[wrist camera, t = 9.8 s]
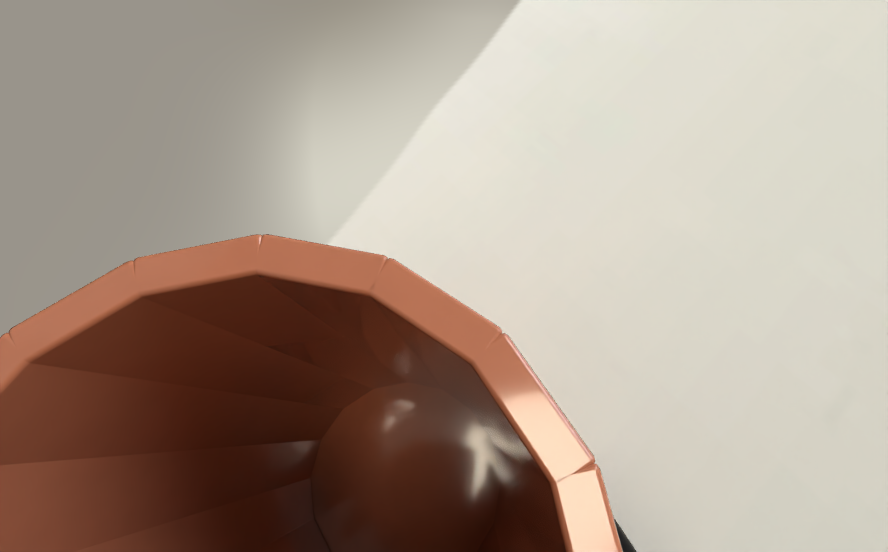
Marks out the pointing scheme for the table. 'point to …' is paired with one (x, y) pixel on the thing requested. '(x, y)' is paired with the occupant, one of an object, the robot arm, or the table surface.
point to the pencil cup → (283, 415)
